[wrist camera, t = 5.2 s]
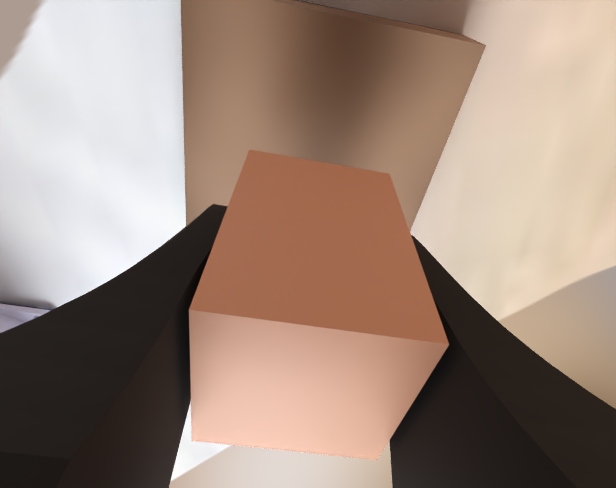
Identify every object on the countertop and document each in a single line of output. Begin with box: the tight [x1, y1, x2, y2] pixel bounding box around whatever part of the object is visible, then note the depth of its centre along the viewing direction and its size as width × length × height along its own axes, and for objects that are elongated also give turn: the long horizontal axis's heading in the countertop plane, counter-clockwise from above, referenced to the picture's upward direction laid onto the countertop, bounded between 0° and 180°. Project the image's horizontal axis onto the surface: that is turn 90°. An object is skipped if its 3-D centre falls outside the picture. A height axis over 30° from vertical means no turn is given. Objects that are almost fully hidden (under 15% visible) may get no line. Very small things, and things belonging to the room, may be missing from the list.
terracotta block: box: [189, 149, 449, 460], centre depth 9 cm, size 4×4×6 cm
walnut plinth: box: [181, 0, 486, 231], centre depth 16 cm, size 10×10×2 cm
